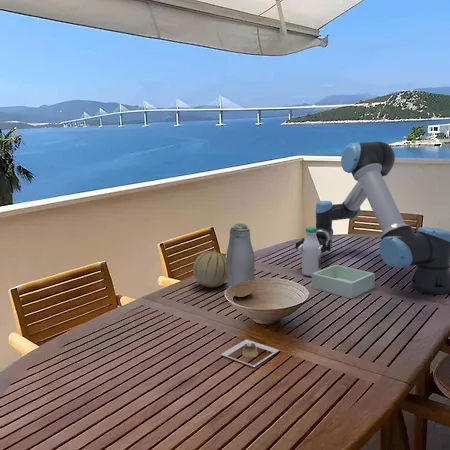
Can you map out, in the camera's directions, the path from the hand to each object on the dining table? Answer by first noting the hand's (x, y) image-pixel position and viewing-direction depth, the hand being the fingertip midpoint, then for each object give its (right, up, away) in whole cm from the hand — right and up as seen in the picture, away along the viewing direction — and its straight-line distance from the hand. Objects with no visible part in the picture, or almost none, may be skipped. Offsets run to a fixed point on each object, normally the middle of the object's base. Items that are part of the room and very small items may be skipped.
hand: (308, 251), depth 196 cm
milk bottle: (+2, -10, +7) cm, 12 cm away
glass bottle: (-28, -16, -15) cm, 36 cm away
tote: (+12, -14, -10) cm, 21 cm away
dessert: (-27, -26, -61) cm, 72 cm away
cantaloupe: (-40, -14, -3) cm, 42 cm away
